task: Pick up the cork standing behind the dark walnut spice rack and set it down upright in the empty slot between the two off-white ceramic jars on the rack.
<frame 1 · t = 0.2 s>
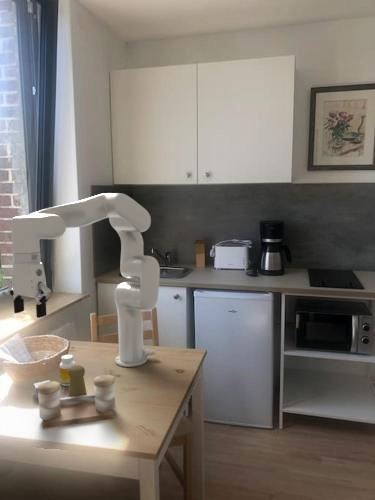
hand: (30, 314, 128), 30 cm above the table, tool pointing down, fingers open, 9 cm apart
grey tin: (43, 395, 142), on the table
cork: (77, 399, 139), on the table
rack: (78, 414, 129), on the table
supplement bottle: (68, 383, 151), on the table
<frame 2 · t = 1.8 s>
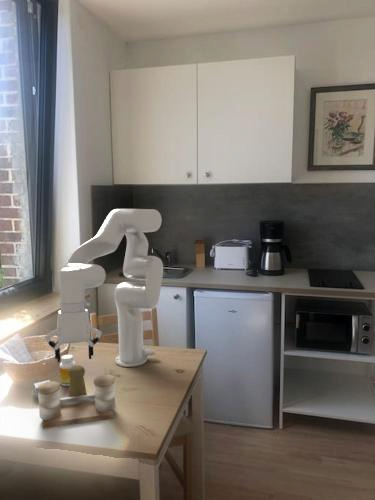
hand: (74, 359, 136), 14 cm above the table, tool pointing down, fingers open, 9 cm apart
nothing on the table moved.
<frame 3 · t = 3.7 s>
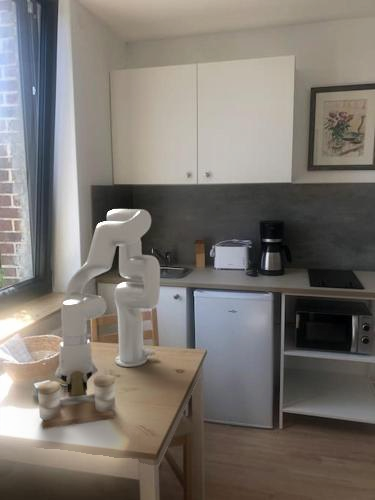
hand: (77, 392, 139), 2 cm above the table, tool pointing down, fingers closed on cork, 3 cm apart
cork: (77, 399, 139), on the table, touching gripper
everything else where it was.
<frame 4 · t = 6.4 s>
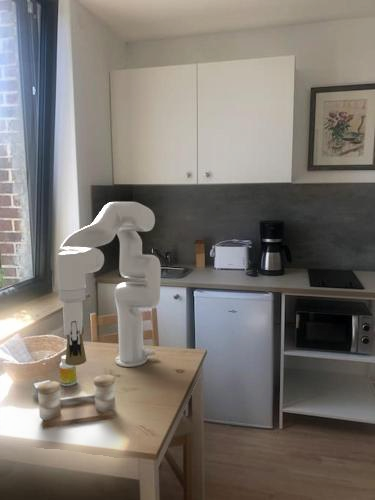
hand: (75, 354, 126), 19 cm above the table, tool pointing down, fingers closed on cork, 3 cm apart
cork: (75, 361, 126), point 17 cm above the table, touching gripper
everything else where it was.
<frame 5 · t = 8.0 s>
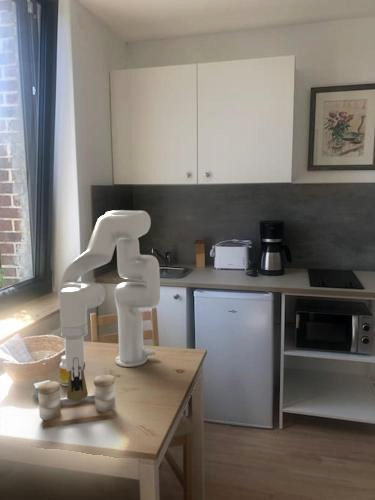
hand: (77, 388, 128), 9 cm above the table, tool pointing down, fingers closed on cork, 3 cm apart
cork: (77, 396, 128), point 6 cm above the table, touching gripper
everything else where it was.
when the fingers open (5 cm above the table, at t = 9.2 s): cork stays where it is, resting on rack.
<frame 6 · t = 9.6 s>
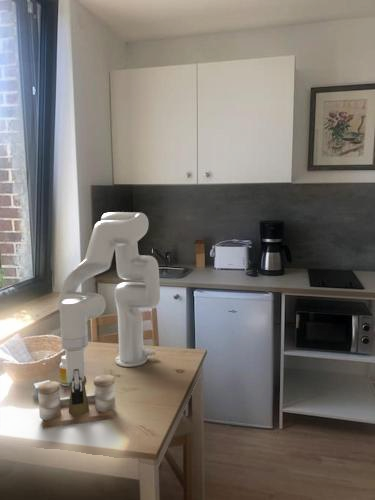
hand: (77, 396, 128), 6 cm above the table, tool pointing down, fingers open, 9 cm apart
cork: (79, 410, 129), point 1 cm above the table, touching rack
everything else where it was.
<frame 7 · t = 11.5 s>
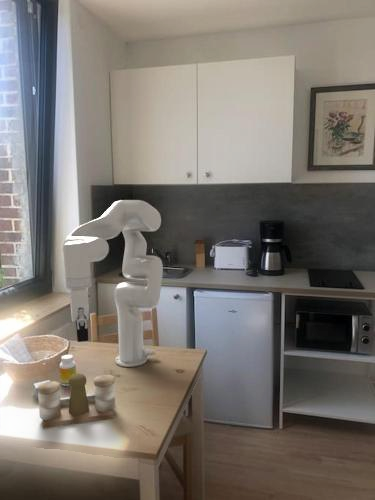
hand: (82, 335, 133), 23 cm above the table, tool pointing down, fingers open, 9 cm apart
nothing on the table moved.
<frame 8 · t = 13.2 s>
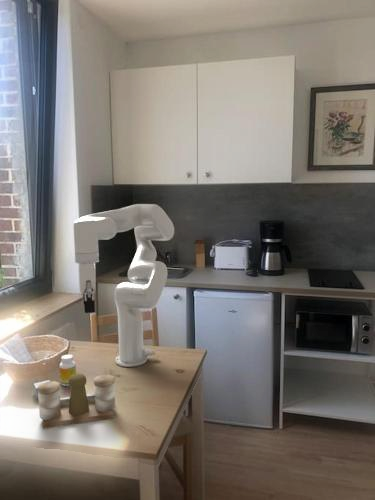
hand: (89, 308, 142), 28 cm above the table, tool pointing down, fingers open, 9 cm apart
nothing on the table moved.
at the end: cork inside the target area on the rack (0.4 cm from its centre), point 1.3 cm above the rack's base; cork tilted 0°; the gripper is holding nothing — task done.
